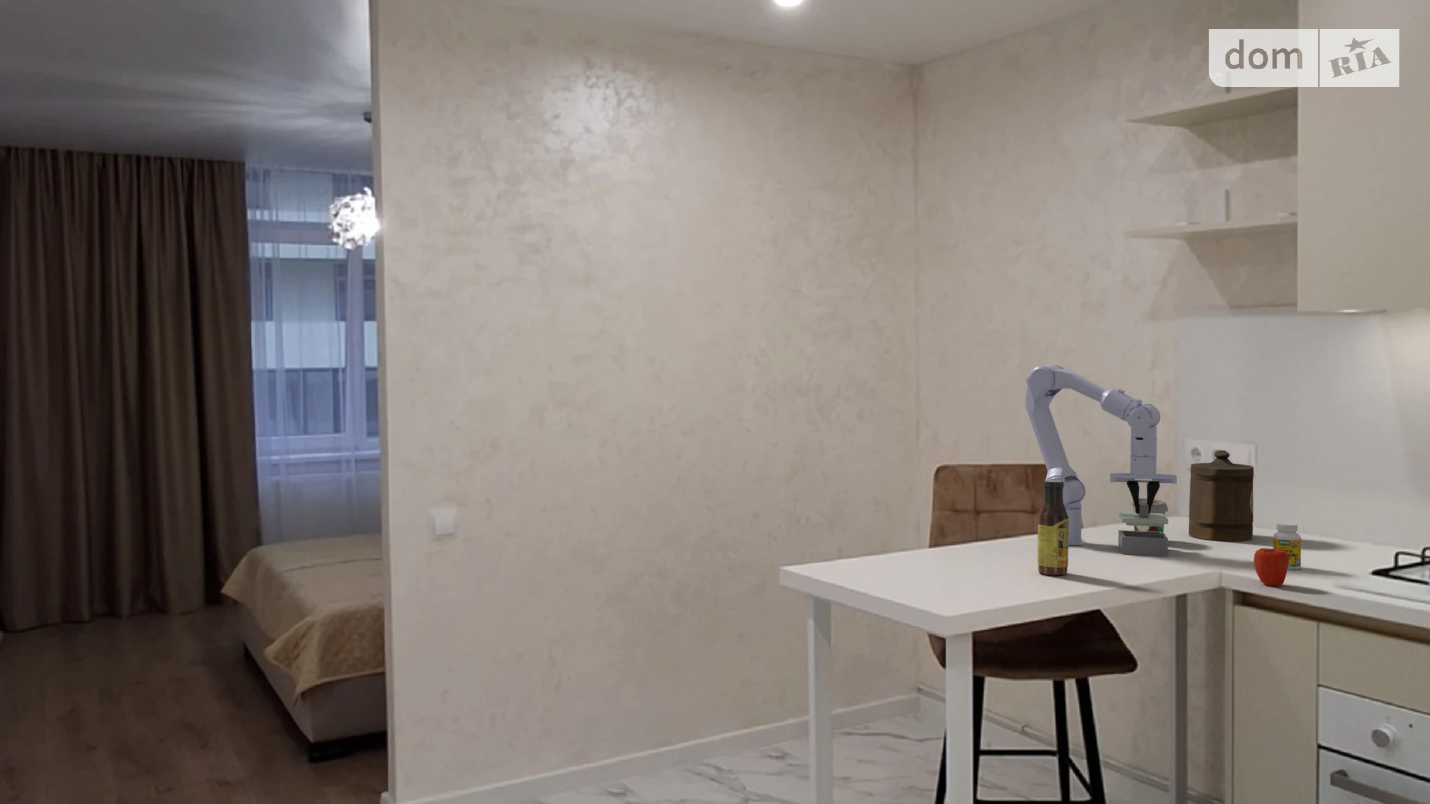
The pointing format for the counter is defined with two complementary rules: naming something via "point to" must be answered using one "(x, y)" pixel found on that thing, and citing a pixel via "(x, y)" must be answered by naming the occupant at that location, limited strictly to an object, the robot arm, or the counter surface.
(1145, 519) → the lid
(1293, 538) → the supplement bottle
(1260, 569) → the apple
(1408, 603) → the counter surface
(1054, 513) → the sauce bottle
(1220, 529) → the wooden container
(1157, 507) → the food container
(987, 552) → the counter surface
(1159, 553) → the tub
